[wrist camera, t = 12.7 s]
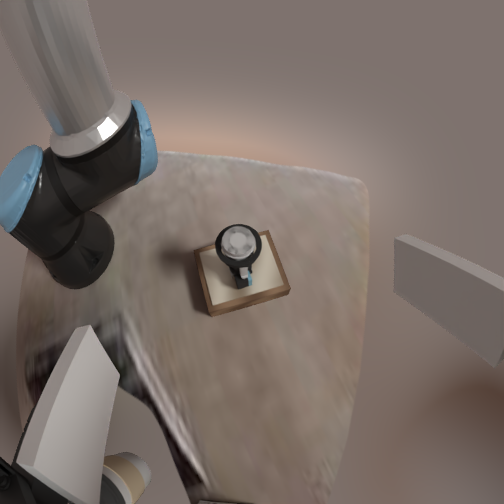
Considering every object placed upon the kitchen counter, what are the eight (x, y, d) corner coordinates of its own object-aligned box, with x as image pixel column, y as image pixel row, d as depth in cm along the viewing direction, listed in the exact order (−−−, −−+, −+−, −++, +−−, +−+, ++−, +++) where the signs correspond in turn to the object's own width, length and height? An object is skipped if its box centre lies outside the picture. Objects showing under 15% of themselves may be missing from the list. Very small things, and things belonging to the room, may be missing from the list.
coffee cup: (150, 447, 30) (103, 474, 17) (165, 494, 26) (128, 536, 13) (101, 444, 29) (45, 461, 16) (115, 490, 25) (67, 520, 12)
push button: (215, 254, 40) (205, 218, 31) (249, 244, 41) (248, 205, 32) (229, 295, 38) (222, 268, 29) (265, 283, 38) (269, 253, 29)
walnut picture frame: (211, 316, 39) (208, 311, 37) (197, 258, 44) (193, 249, 41) (288, 294, 41) (290, 287, 38) (267, 239, 45) (268, 229, 42)
